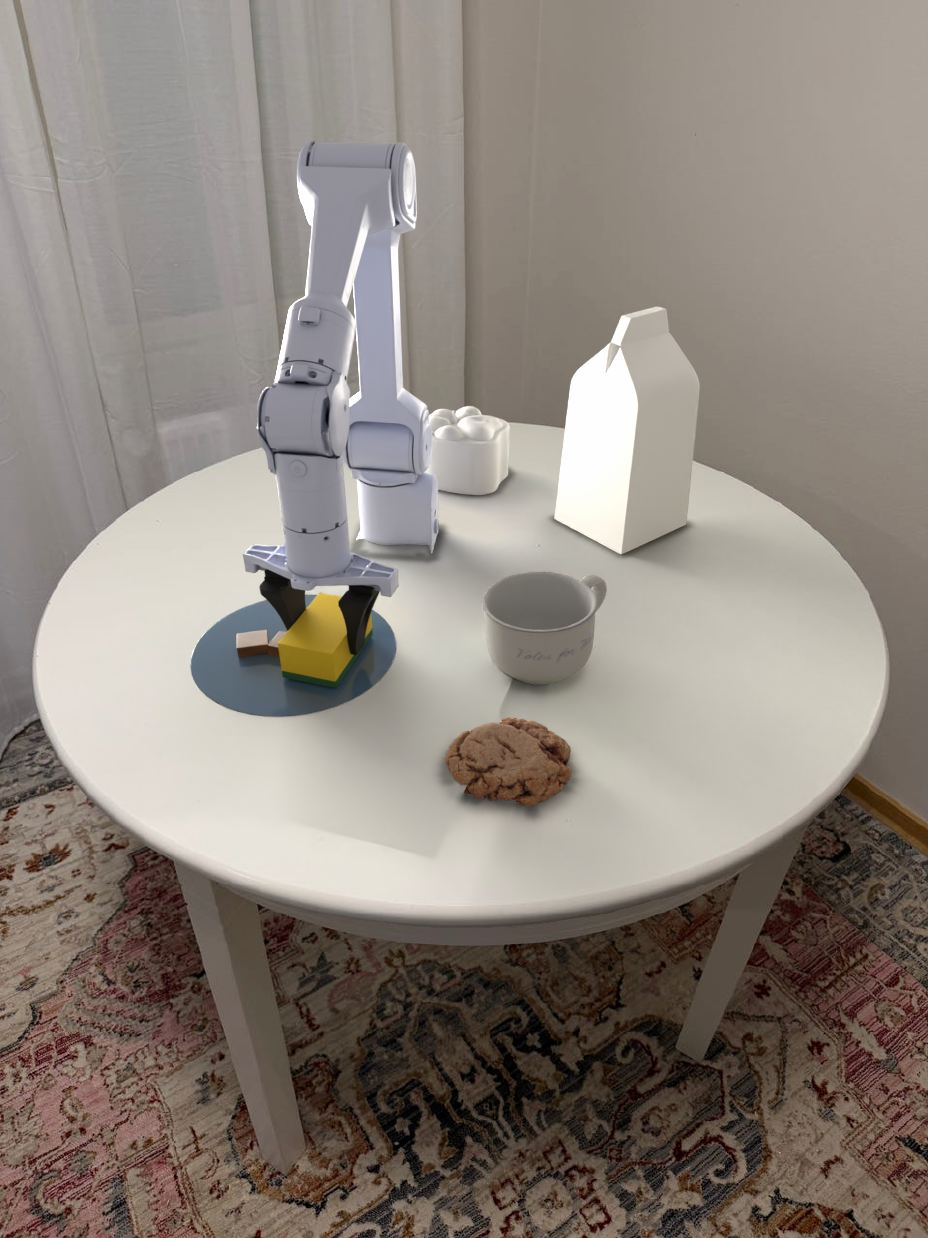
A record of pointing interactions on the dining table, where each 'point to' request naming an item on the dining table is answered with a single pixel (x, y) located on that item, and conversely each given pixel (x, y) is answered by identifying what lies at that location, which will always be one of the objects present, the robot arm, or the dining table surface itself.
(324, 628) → the sponge
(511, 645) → the teacup
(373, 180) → the robot arm
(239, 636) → the block
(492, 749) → the cookie
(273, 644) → the block
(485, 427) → the lumpy-topped squat cylinder
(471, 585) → the dining table surface
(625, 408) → the milk
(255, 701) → the plate
